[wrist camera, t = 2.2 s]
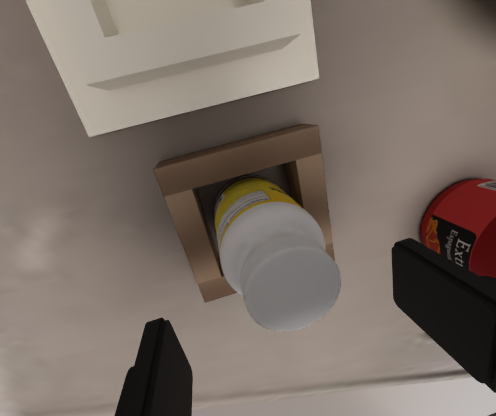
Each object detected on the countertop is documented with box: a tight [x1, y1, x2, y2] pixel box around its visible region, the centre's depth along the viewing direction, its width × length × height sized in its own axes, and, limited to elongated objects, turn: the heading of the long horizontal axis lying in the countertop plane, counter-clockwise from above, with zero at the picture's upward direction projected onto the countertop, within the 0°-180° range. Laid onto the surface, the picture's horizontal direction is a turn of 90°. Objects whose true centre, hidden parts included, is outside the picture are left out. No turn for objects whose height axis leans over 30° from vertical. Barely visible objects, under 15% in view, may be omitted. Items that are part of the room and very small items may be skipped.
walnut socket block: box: [153, 124, 335, 303], centre depth 18 cm, size 10×10×2 cm
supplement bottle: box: [214, 176, 341, 332], centre depth 14 cm, size 5×5×10 cm
